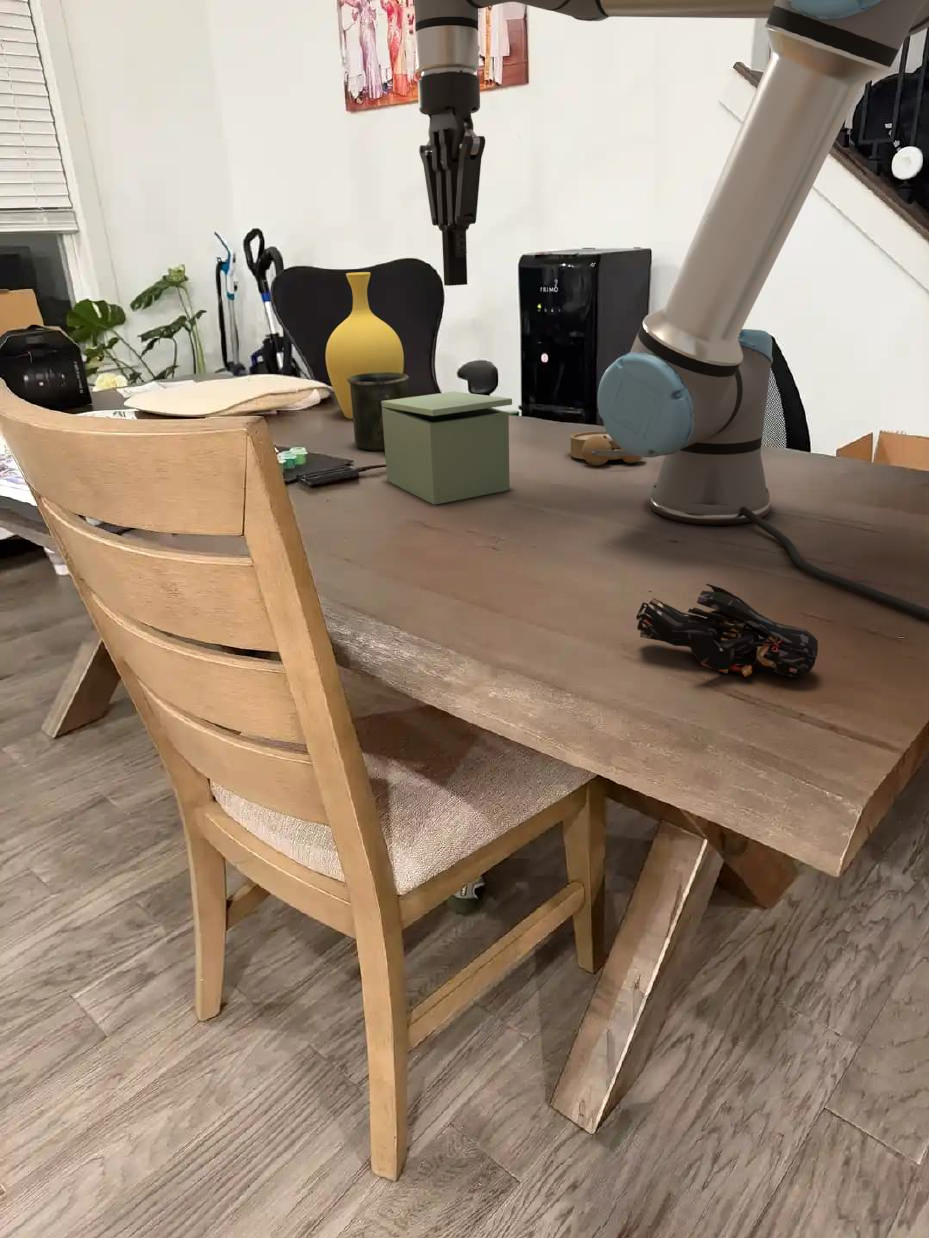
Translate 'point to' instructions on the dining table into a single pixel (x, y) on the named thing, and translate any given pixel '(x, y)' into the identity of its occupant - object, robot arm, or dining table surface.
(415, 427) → the chest
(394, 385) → the mug
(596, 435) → the wooden toy car
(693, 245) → the robot arm
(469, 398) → the lid
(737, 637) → the figurine
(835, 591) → the dining table surface
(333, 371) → the vase
